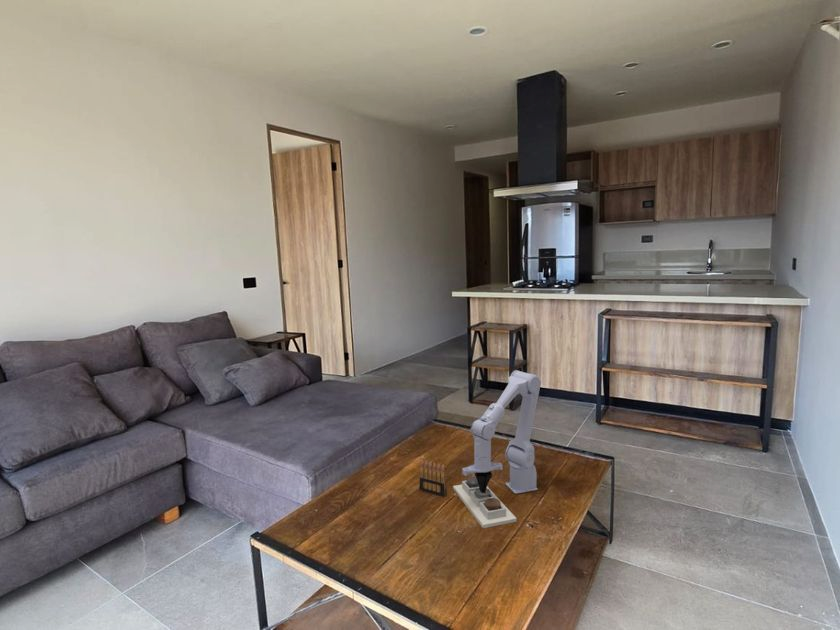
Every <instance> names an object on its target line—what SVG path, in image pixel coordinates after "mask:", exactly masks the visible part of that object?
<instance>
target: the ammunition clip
mask: <svg viewBox="0 0 840 630" xmlns="http://www.w3.org/2000/svg"><path fill="white" fill-rule="evenodd" d="M445 470H446V469H445V464H442V465H441V464H440V463H437V464H436V462H435V461H434V462H433V465H432V461H429V463H428V460H426V459H425V462H424V460H423V459H421V461H420V470H419V472H420V473H419V475H420V476H419V485H418V486H419V491H421V490H422V491H421V492H424V491H425V493H428V492H429V493H428V494H431V493H432V495H436V496H439V497H443V498H445V497H446V496H447V481H446V471H445Z"/></svg>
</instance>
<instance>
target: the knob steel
mask: <svg viewBox="0 0 840 630" xmlns="http://www.w3.org/2000/svg"><path fill="white" fill-rule="evenodd" d="M489 489H490V488H489ZM489 489H487V488H486V492H484V493H482V492H481V491H480V489H479V488H477V489H476V490H475V494H476V496H477V497H478V498H479V499H482V498H488V497H489V495H490V490H491V489H490V490H489Z"/></svg>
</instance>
